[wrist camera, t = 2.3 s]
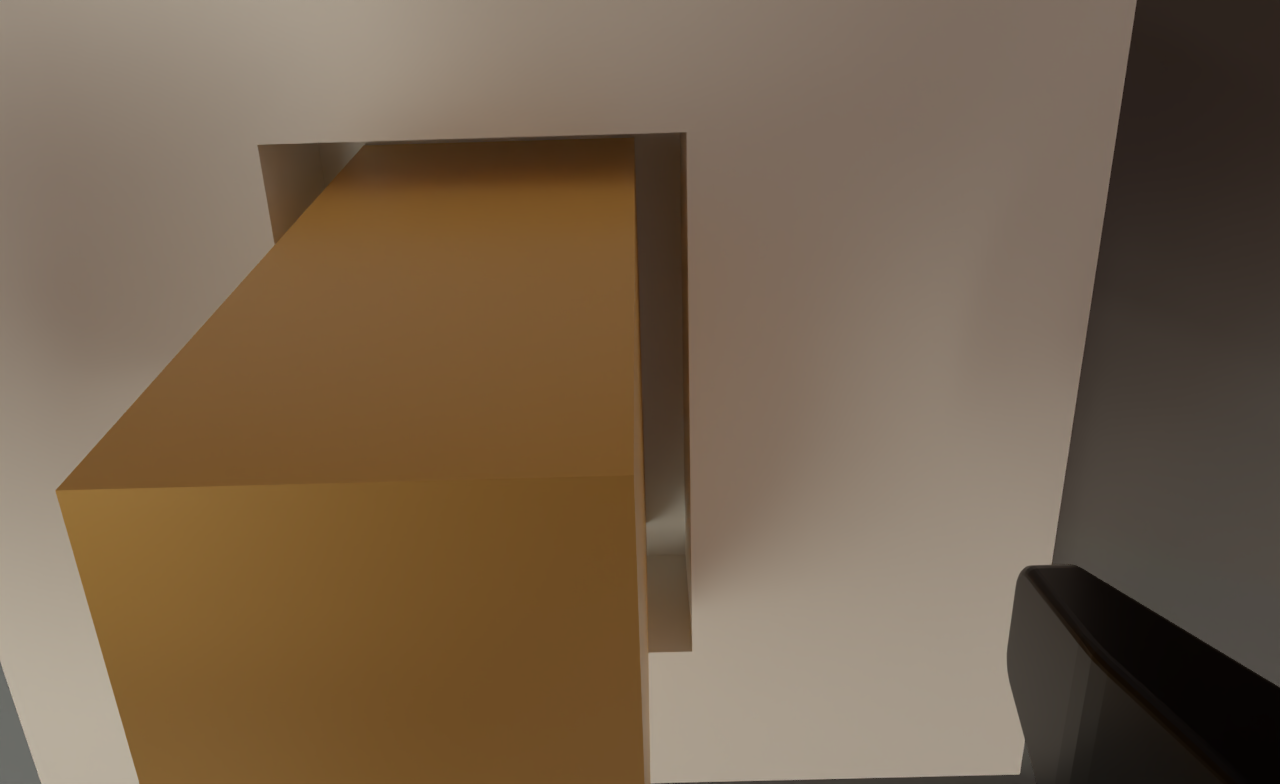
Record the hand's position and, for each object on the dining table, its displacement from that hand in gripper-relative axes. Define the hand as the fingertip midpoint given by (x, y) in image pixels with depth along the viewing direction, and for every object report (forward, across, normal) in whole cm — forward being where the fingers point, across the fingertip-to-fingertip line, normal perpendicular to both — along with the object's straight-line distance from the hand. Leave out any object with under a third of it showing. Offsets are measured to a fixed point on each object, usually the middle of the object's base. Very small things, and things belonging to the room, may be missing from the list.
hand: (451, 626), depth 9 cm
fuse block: (+6, 0, 0) cm, 6 cm away
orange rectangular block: (+5, 0, 0) cm, 5 cm away
